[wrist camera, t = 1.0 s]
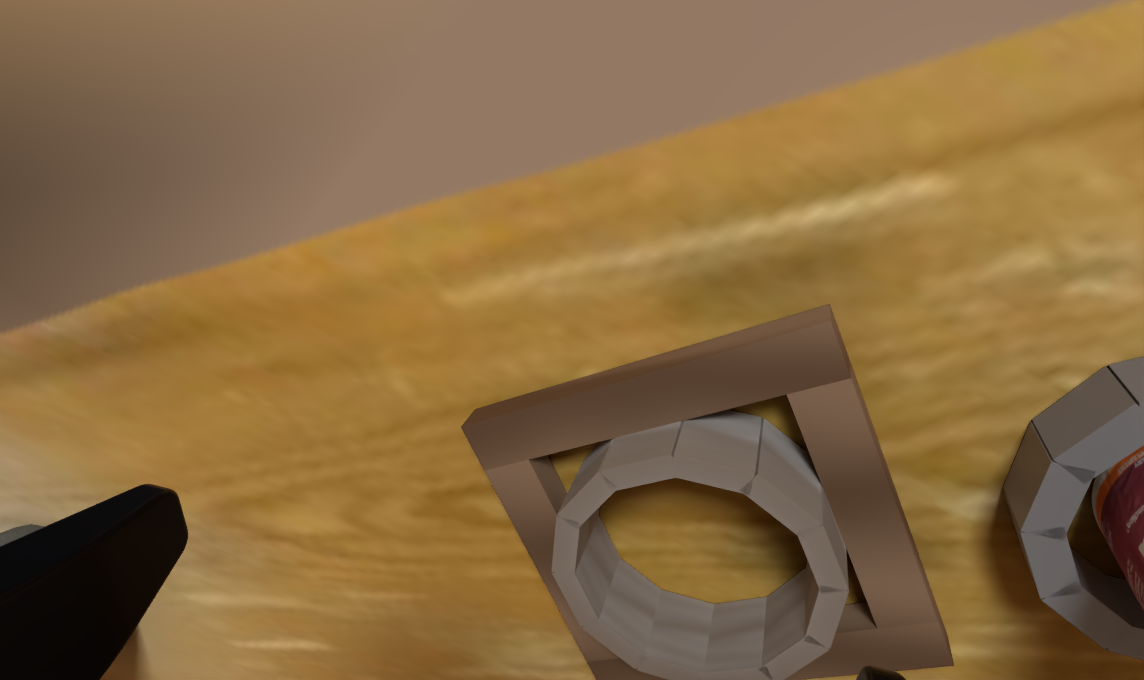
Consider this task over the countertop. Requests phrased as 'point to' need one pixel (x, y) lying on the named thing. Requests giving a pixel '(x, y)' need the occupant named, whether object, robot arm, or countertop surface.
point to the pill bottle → (1123, 516)
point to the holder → (1079, 501)
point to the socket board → (733, 462)
